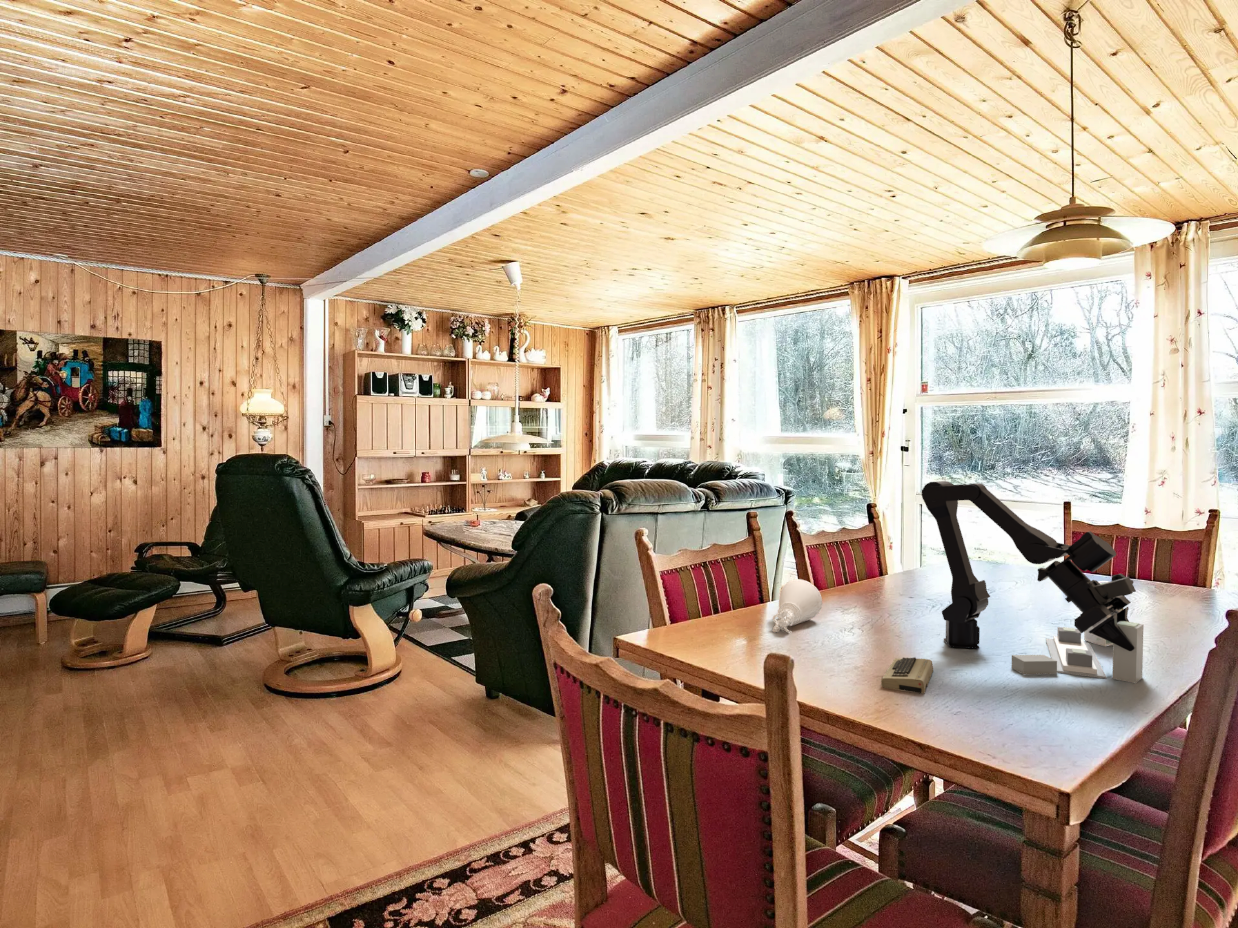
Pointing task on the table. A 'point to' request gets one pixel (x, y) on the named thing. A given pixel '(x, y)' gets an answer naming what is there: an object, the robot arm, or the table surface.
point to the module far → (1069, 635)
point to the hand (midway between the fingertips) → (1136, 647)
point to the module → (1129, 654)
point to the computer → (908, 675)
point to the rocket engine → (797, 604)
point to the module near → (1078, 657)
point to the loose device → (1034, 664)
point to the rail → (1059, 654)
